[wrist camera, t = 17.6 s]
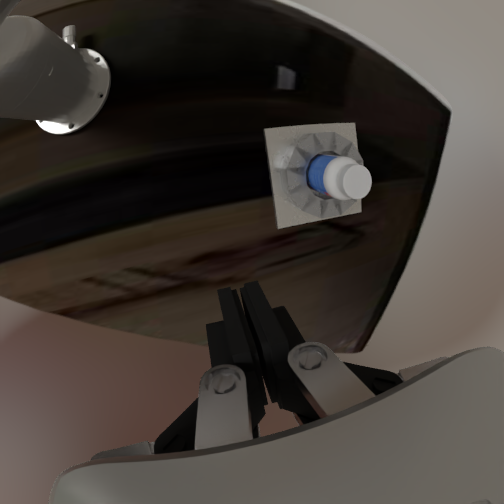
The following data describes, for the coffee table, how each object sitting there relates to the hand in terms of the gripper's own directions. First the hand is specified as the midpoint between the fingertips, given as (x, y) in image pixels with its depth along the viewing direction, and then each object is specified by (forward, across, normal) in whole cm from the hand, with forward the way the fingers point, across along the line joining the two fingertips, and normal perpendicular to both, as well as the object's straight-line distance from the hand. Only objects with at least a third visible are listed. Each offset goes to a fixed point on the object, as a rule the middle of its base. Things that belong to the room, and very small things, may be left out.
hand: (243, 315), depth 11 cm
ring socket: (+27, -16, -1) cm, 31 cm away
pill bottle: (+26, -16, -1) cm, 31 cm away
